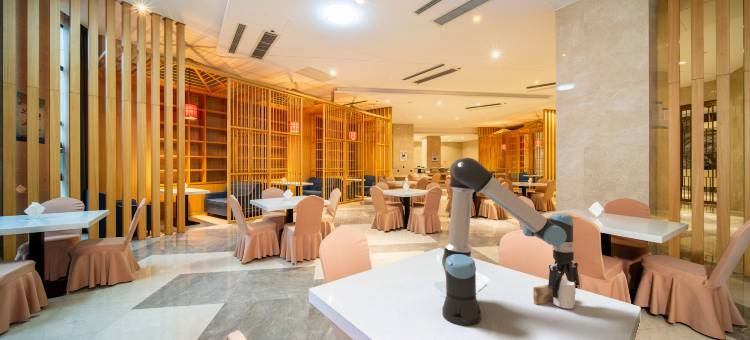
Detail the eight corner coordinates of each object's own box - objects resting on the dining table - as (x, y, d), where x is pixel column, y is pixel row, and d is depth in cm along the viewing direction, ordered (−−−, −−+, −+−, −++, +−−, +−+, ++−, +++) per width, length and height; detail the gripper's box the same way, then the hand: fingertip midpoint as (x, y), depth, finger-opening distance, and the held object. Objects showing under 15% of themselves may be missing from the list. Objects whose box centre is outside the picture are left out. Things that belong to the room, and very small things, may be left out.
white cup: (579, 310, 120) (578, 286, 120) (558, 308, 121) (557, 284, 121) (570, 301, 128) (570, 279, 128) (550, 300, 129) (550, 278, 129)
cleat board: (541, 307, 124) (541, 290, 124) (533, 303, 128) (533, 287, 128) (569, 301, 129) (569, 285, 129) (561, 297, 132) (561, 282, 132)
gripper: (552, 255, 118) (553, 311, 118) (589, 250, 124) (590, 303, 124) (537, 250, 125) (538, 303, 125) (572, 245, 131) (573, 296, 131)
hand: (564, 303), depth 124 cm, fingers closed on white cup, 7 cm apart
